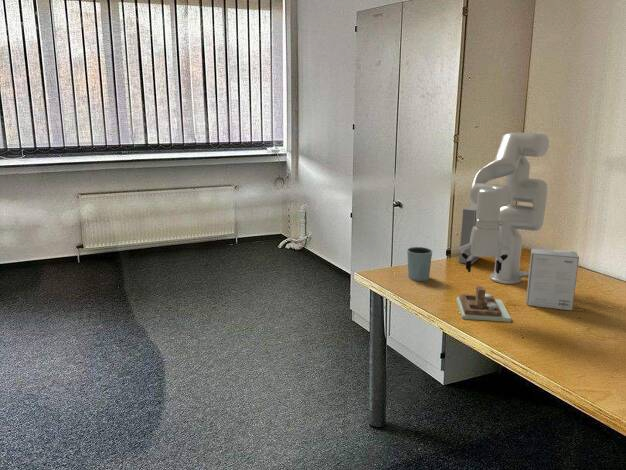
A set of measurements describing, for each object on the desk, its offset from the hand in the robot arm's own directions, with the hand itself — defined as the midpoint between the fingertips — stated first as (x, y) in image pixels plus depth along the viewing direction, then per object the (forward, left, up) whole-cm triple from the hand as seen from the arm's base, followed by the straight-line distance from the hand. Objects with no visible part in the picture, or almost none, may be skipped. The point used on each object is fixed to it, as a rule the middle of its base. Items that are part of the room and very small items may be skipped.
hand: (482, 271), depth 192 cm
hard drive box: (-26, -9, -14) cm, 31 cm away
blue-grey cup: (+20, -32, -14) cm, 41 cm away
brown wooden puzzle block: (0, +1, -13) cm, 13 cm away
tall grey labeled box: (-5, -62, -14) cm, 64 cm away
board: (-1, +1, -14) cm, 14 cm away
